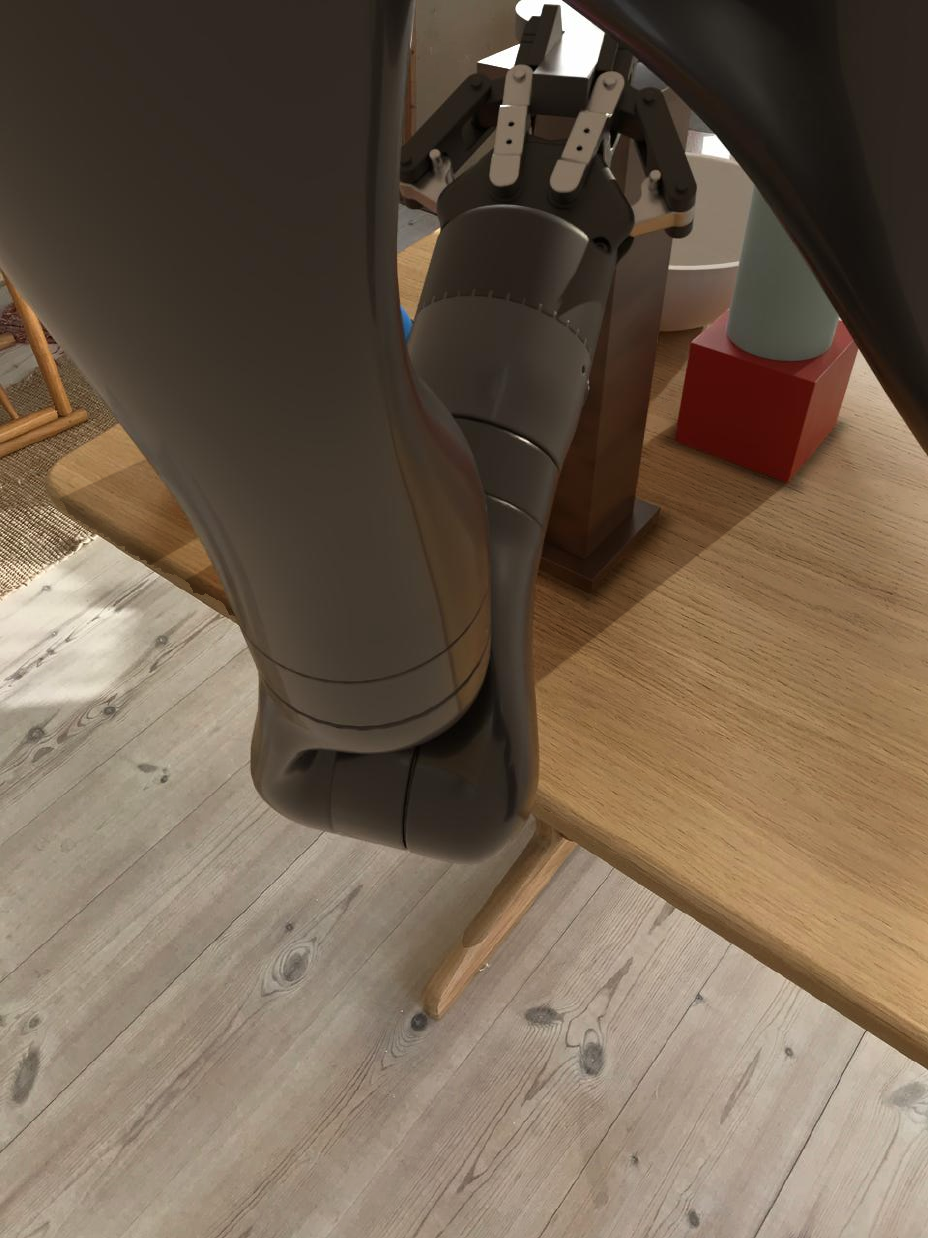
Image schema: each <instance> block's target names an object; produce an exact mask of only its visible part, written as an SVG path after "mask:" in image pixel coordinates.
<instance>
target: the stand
mask: <svg viewBox="0 0 928 1238" xmlns="http://www.w3.org/2000/svg"><path fill="white" fill-rule="evenodd" d="M519 45H520V43H519V44H516V45H514V46H512V47H509V48H507V49H504V50H502V51H500V52H497V53H495V54H493V55H490V56H488V57H485V58H483V59H481V60H479V61H477V62H476V73H483V74H485V75H487V76H488V77H489V78H490V80H494V79H499V78H502V77H504V76H506V74H507V72H508V70H509V69H510V68H512V67H513V66H514V63H515V60H516V56H517V52H518V49H519ZM632 87H633V88H635V89H637V90H639V91H640V90H641V89H643V88H646V87H655V88H658V89H659V90H660V91H661V92H662V93H663V95H664V98H665V101H666V103H667V106H668V109H669V111H670V114H671V117H672V119H673V122H674V125H675V128H676V130H677V133H678V136H679V138H680V141H681V144H682V146H683V149H684V152H687V150H686V149H687V143H688V135H689V129H690V122H691V115H692V110H691V109H690V108H689V107H688V105H687V104H686V103H685V102H684V101H683V100H682V99H681V98H680V97H679V96H678V95H677V94H676V93H675V92H674V91H673V90H672V89H671V88H670V87H669V86H668V85H666V84H665V83H664V82H663V81H662V80H661V79H660V78H658V77H657V76H656V75H655V74H654V73H653V72H652V71H651V70H649V69H648V68H647V67H646V66H645V65H644V64H643V63H641V62H639V63H637V66H636V70H635V74H634V78H633V82H632ZM576 119H577V118H573V117H561V116H550V115H538V120H537V128H536V136H537V137H540V138H543V139H546V140H558V139H566V138H569V136H570V134H571V131H572V129H573V126H574V124H575V121H576ZM610 171H611V172H612V174H613V176H614V178H615V179H616V181H617V183H618V185H619V186H620V188H621V190H622V191H623V193H624V195H625V197H626V198H627V200H628V202H629V204H630V205H633V204H635V203H636V202H637V201H638V200H639V198H640V186H641V183H642V181H643V180H644V179H645V178H646V176H645V173H644V170H643V168H642V165H641V162H640V159H639V156H638V153H637V151H636V148H635V145H634V139H631V138H629V137H627V136H624V135H622V134H621V135H620V138H619V140H618V143H617V145H616V148H615V150H614V153H613V155H612V159H611V165H610ZM672 240H673V238H672V237H670V236H668V235H667V234H666V232H665V230H664V229H662V230H659V231H655V232H652V233H649V234H645V235H642V236H638V237H635V238H634V242H633V245H632V247H631V249H630V250H629V252H628V253H627V254H626V255H625V256H624V257H623V258H622V259H621V260H620V261H619V263H618V264H617V266H616V268H615V270H614V273H613V277H612V281H611V285H610V290H609V294H608V298H607V303H606V307H605V311H604V316H603V320H602V324H601V328H600V333H599V337H598V341H597V346H596V350H595V354H594V358H593V363H592V367H591V371H590V376H589V386H590V387H589V392H588V396H587V400H586V402H585V405H583V407H582V410H581V414H580V418H579V422H578V426H577V429H576V432H575V435H574V437H573V440H572V443H571V445H570V447H569V450H568V452H567V455H566V457H565V460H564V463H563V466H562V469H561V473H560V476H559V479H558V483H557V488H556V492H555V496H554V500H553V505H552V509H551V513H550V518H549V522H548V526H547V530H546V535H545V539H544V544H543V549H542V554H541V559H540V564H539V571H542V572H545V573H546V574H549V575H550V576H553V577H556V578H558V579H560V580H562V581H564V582H567V583H569V584H570V585H573V586H575V587H577V588H579V589H581V590H582V591H583V590H584V591H585V592H588V593H590V594H591V593H593V591H594V590H596V588H597V587H598V586H599V585H600V584H601V583H602V581H604V580H605V579H606V577H607V576H608V575H610V573H611V572H612V571H613V570H614V569H615V568H616V566H618V565H619V563H620V562H621V561H622V560H623V559H624V558H625V557H626V556H627V555H628V554H629V553H630V552H631V551H632V550H633V549H634V548H635V546H636V545H637V544H638V543H639V542H640V541H641V540H642V539H643V538H644V537H645V536H646V535H647V534H648V533H649V531H650V530H651V529H652V528H653V527H654V526H655V525H656V524H657V523H658V522H659V521H660V516H661V512H662V511H661V510H662V507H660V506H657V505H656V504H653V503H650V502H648V501H645V500H643V499H641V498H638V497H636V496H637V490H638V489H637V488H638V481H639V477H640V476H639V475H640V468H641V460H642V455H643V454H642V453H643V447H644V441H645V433H646V426H647V421H648V419H647V418H648V413H649V405H650V399H651V391H652V386H653V379H654V371H655V364H656V357H657V350H658V343H659V336H660V331H659V330H660V323H661V317H662V310H663V303H664V296H665V289H666V282H667V275H668V268H669V261H670V254H671V247H672Z"/></svg>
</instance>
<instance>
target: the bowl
mask: <svg viewBox="0 0 928 1238" xmlns="http://www.w3.org/2000/svg"><path fill="white" fill-rule="evenodd" d="M685 154H686V157H687V160H688V162H689V165H690V168H691V170H692V173H693V176H694V178H695V181H696V184H697V193H696V202H695V212H694V221H693V229H692V231H691V233H690V234H689V235H688V236H686V237H684V238H680V239H675V238H673V240H672V247H671V254H670V261H669V268H668V275H667V282H666V289H665V296H664V303H663V310H662V317H661V323H660V330H659V332H679V331H687V330H692V329H696V328H701V327H705V326H708V325H709V326H710V325H711V324H712V323H713V322H714V321H716V320H717V319H718V318H719V317H720V316H721V315H722V314H723V313H725V312H726V311H727V310H728V309H729V308H730V307H731V301H732V296H733V291H734V286H735V281H736V276H737V271H738V266H739V260H740V255H741V250H742V245H743V240H744V235H745V230H746V225H747V219H748V214H749V209H750V204H751V199H752V194H753V189H754V183H753V182H752V181H751V179H750V178H749V177H748V176H747V174H746V173H745V172H744V170H743V169H742V168H741V167H740V165H739V164H738V163H737V162H736V160H735V159H730V158H726V157H720V156H715V155H710V154H704V153H699V152H689V151H685Z"/></svg>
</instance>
